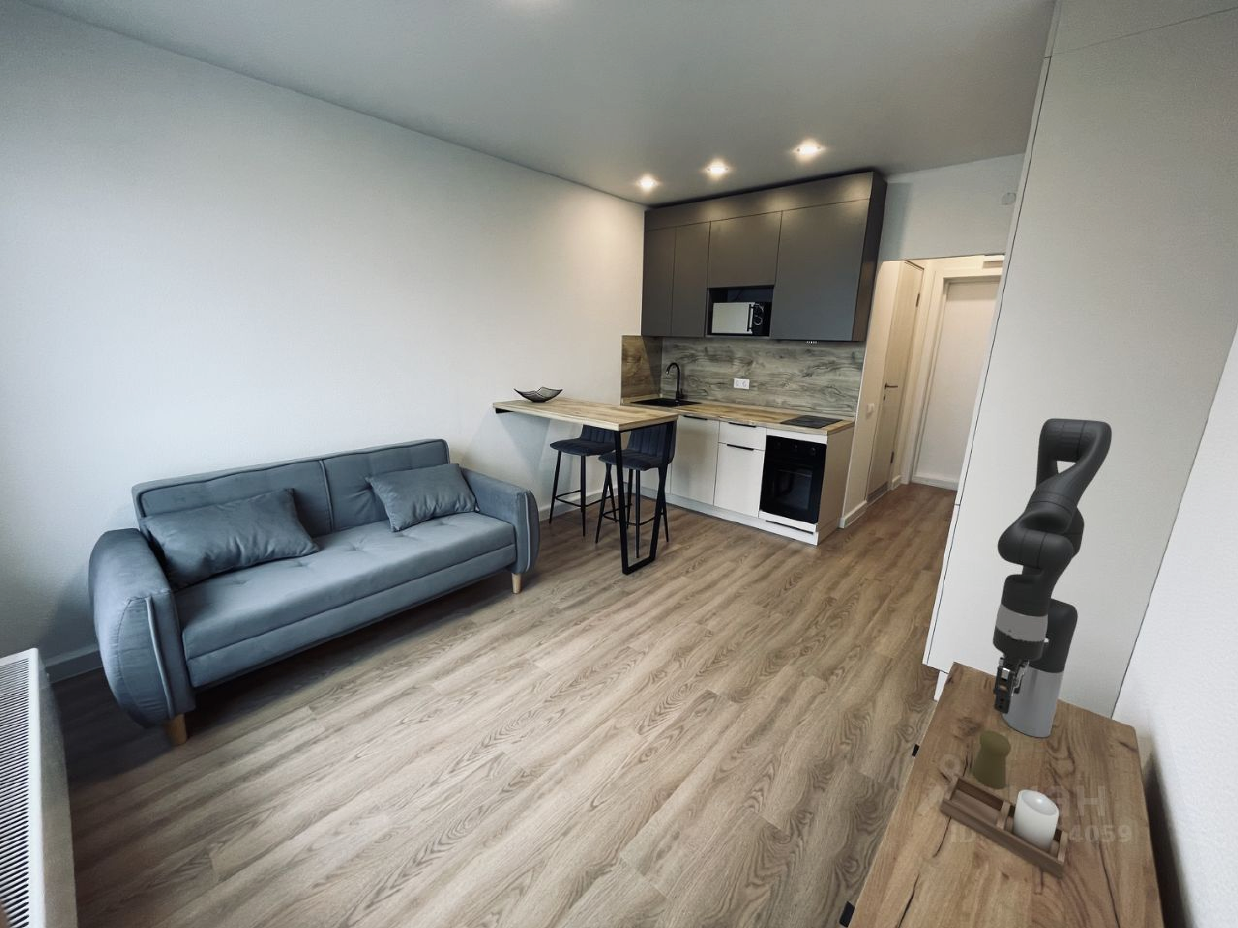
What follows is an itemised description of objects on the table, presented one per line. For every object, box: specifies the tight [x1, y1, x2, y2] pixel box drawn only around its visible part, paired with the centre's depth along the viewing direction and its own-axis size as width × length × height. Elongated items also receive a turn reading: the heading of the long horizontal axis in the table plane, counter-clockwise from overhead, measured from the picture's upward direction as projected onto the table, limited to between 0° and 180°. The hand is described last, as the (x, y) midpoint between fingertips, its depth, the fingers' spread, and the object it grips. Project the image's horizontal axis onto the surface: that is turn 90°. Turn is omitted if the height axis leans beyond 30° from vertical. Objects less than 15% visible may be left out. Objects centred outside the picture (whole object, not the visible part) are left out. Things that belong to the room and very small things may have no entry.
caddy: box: [940, 773, 1069, 880], centre depth 92 cm, size 9×18×4 cm, turn 44°
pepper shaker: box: [971, 729, 1012, 790], centre depth 102 cm, size 6×6×11 cm
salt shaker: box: [1011, 789, 1060, 855], centre depth 88 cm, size 6×6×10 cm
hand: (1006, 701), depth 98 cm, fingers open, 8 cm apart
